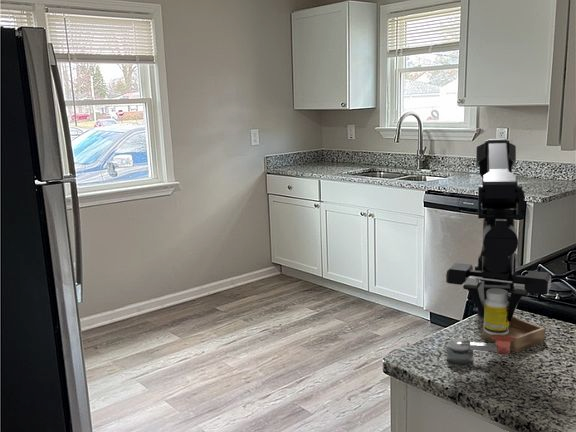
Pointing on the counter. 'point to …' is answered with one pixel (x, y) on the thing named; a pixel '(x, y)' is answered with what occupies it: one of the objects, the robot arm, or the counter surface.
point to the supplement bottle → (496, 312)
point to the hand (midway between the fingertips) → (496, 319)
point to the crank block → (459, 357)
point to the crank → (483, 345)
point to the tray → (521, 334)
